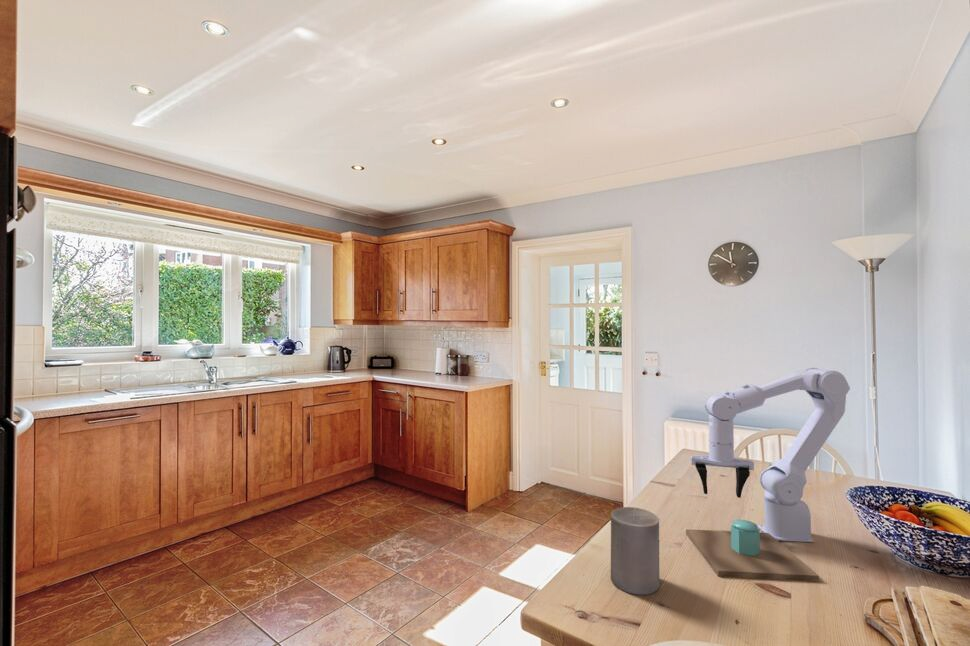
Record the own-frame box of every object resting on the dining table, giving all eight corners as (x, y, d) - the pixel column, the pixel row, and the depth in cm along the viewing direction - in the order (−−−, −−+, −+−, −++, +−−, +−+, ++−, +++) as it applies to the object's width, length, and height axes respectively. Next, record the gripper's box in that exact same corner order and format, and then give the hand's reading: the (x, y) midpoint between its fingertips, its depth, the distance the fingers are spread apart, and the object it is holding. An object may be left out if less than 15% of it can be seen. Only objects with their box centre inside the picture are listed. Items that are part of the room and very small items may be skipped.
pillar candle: (605, 569, 98) (605, 500, 99) (650, 570, 98) (650, 500, 98) (617, 595, 89) (617, 519, 89) (667, 596, 88) (666, 519, 89)
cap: (747, 543, 107) (747, 518, 108) (764, 555, 102) (763, 529, 102) (727, 544, 107) (727, 519, 107) (743, 556, 101) (742, 529, 101)
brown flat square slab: (768, 537, 113) (768, 532, 113) (819, 581, 93) (818, 575, 93) (685, 534, 115) (685, 529, 115) (718, 576, 95) (718, 570, 95)
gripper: (749, 440, 119) (750, 492, 119) (689, 436, 124) (689, 486, 123) (755, 447, 112) (756, 502, 112) (691, 442, 117) (692, 495, 117)
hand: (721, 494), depth 117 cm, fingers open, 7 cm apart
